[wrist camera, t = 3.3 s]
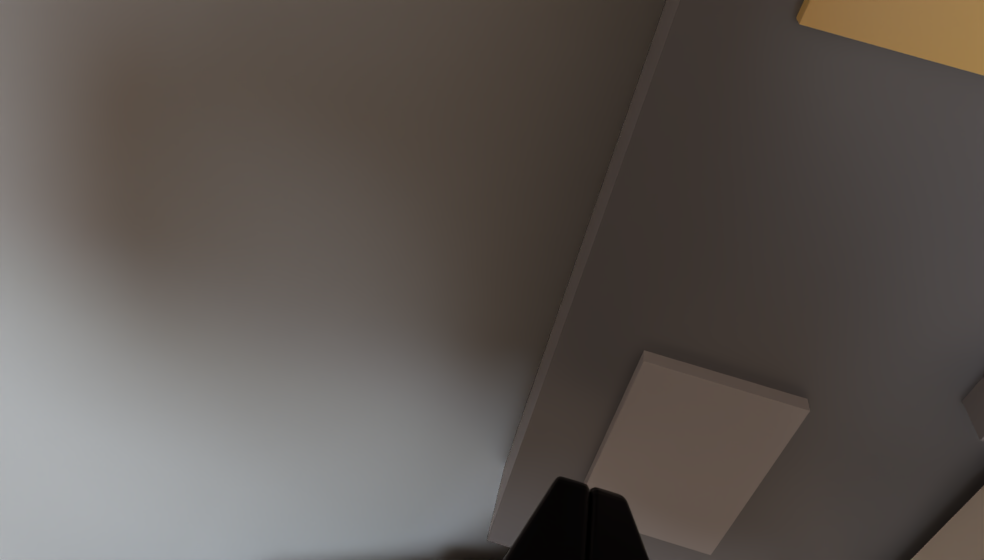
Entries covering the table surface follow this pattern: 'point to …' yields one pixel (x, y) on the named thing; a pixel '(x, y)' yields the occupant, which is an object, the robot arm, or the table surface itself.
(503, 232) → the table surface
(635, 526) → the robot arm
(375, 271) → the table surface
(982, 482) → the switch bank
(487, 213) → the table surface
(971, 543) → the tab
